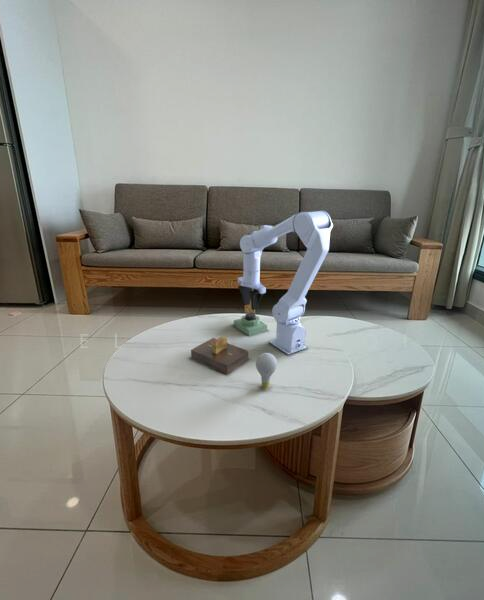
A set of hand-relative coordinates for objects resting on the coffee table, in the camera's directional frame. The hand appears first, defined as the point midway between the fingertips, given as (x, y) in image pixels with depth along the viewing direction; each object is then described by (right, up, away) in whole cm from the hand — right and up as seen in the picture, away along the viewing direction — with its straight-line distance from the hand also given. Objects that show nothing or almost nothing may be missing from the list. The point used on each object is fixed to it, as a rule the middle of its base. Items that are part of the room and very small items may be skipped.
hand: (250, 306), depth 115 cm
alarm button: (0, -4, +2) cm, 5 cm away
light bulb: (+4, -21, -31) cm, 37 cm away
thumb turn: (-9, -13, -19) cm, 24 cm away
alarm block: (0, -8, +3) cm, 8 cm away
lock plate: (-9, -15, -18) cm, 25 cm away
